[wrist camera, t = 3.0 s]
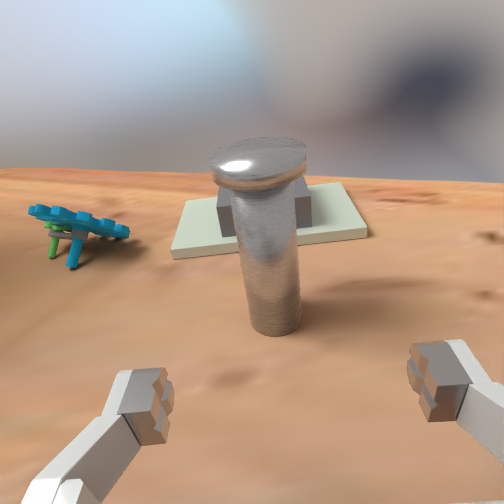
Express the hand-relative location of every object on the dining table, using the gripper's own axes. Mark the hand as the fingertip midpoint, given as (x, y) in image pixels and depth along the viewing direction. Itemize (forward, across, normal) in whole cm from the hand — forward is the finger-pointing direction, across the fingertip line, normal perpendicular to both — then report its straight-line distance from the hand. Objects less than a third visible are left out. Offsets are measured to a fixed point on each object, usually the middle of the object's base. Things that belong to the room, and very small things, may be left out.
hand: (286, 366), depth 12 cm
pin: (+12, 0, -10) cm, 16 cm away
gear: (+26, -21, -10) cm, 35 cm away
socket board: (+28, 0, -10) cm, 30 cm away
